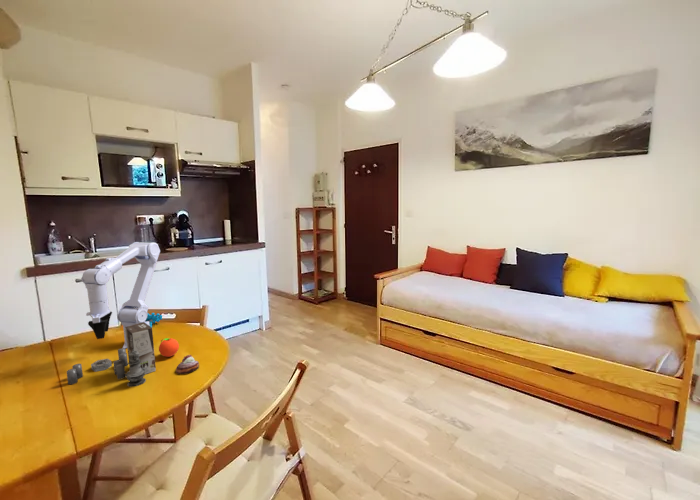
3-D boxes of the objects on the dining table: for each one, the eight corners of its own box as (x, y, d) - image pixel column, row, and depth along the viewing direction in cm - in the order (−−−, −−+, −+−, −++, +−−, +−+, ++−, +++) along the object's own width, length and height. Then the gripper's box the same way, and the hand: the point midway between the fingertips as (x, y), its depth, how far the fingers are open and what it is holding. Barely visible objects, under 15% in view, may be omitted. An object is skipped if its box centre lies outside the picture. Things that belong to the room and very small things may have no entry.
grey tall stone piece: (124, 389, 106) (121, 354, 104) (127, 380, 111) (123, 347, 109) (146, 384, 109) (142, 350, 107) (147, 376, 114) (144, 343, 112)
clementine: (153, 357, 127) (151, 340, 126) (169, 350, 133) (167, 333, 132) (168, 361, 124) (166, 343, 123) (183, 353, 130) (182, 336, 129)
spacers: (131, 357, 127) (130, 346, 126) (125, 378, 112) (123, 366, 112) (78, 367, 120) (76, 355, 119) (63, 390, 105) (62, 378, 104)
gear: (165, 318, 165) (158, 309, 157) (165, 329, 161) (158, 320, 153) (140, 323, 161) (132, 315, 153) (140, 335, 158) (132, 326, 150)
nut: (113, 363, 123) (112, 357, 123) (110, 369, 119) (109, 363, 118) (93, 366, 120) (92, 361, 120) (89, 373, 116) (89, 367, 116)
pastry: (193, 362, 124) (192, 349, 123) (204, 368, 120) (203, 355, 119) (171, 371, 118) (170, 358, 117) (182, 377, 113) (181, 364, 112)
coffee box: (156, 370, 117) (152, 327, 115) (136, 377, 113) (131, 333, 110) (148, 362, 124) (144, 321, 121) (129, 368, 119) (124, 326, 116)
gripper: (89, 296, 127) (94, 330, 129) (79, 307, 114) (84, 344, 116) (112, 294, 130) (115, 326, 132) (104, 304, 117) (108, 340, 119)
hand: (102, 334), depth 124 cm, fingers open, 6 cm apart
